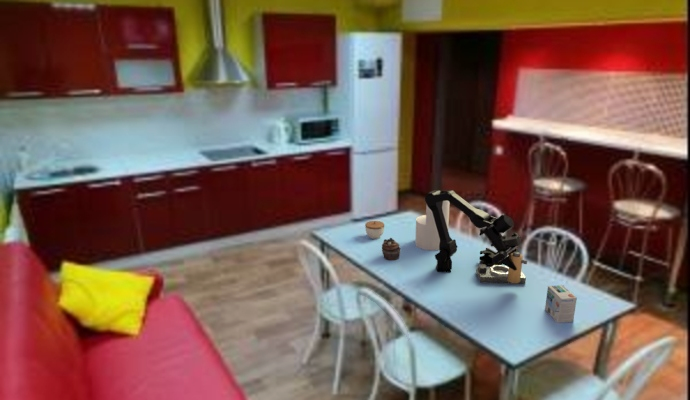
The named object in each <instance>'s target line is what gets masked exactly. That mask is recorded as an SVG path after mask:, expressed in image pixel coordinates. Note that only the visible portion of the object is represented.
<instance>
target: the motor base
mask: <svg viewBox="0 0 690 400" xmlns="http://www.w3.org/2000/svg"><path fill="white" fill-rule="evenodd" d="M477 265H478V266H476V269H475V270H476V272H475V273H476V276H477V279H478V280H479V283H480V284H515V285H518V284H519V285H520V284H521V285H525V284H526V278H527V277H526V275H525V274H524V273H523V270H521V277H520V282H519V283H511V282H509V281H508V270H509V267H508V266H506V265H504V264H502V265H494V266H492V267H487V266H485V264H482V263H478V264H477Z"/></svg>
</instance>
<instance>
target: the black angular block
mask: <svg viewBox="0 0 690 400" xmlns="http://www.w3.org/2000/svg"><path fill="white" fill-rule="evenodd" d="M496 252H497V251H496V250H495V251H494V250H493V249H491V248H490V247H486V248H485V250H480V252H479V255H481V256H479V264H485V266H486V267H492V266H494V265H503V264H501V263H498V262H497V263H496V264H494V263H493V261H492V257H494V256H495V255H496V254H497V253H496Z"/></svg>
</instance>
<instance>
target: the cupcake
mask: <svg viewBox="0 0 690 400" xmlns="http://www.w3.org/2000/svg"><path fill="white" fill-rule="evenodd" d="M401 250H402V249H401V247H400V244H399V243H398V242H396V240H395V239H393V237H390V238H389V239H388V238H387V239H384V240H383V242H382V244H381V251H382V255H383V259H384V260H387V261H396V260H399V259H400V254H401Z"/></svg>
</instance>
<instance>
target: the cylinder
mask: <svg viewBox="0 0 690 400" xmlns="http://www.w3.org/2000/svg"><path fill="white" fill-rule="evenodd" d="M450 205H451V203H450V202H449V201H448V200H447V201H443V204H442V210H443V214H444V218H445V221H446V225H447V228H448V229H449V220H450ZM425 210H426V211H425V212H426V214H424V215H423V214H422V215H419V216H418V217H416V219H415V240H414V241H415V242H414V243H415V245H416V247H417V248H419V249H422V250H426V251H439V243H440V238H439V234H438V231H437V227H436V224H435V220H434V217H433V213H432V211H431V210H430V208H429V207H428V206H427V205H426V209H425Z"/></svg>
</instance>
